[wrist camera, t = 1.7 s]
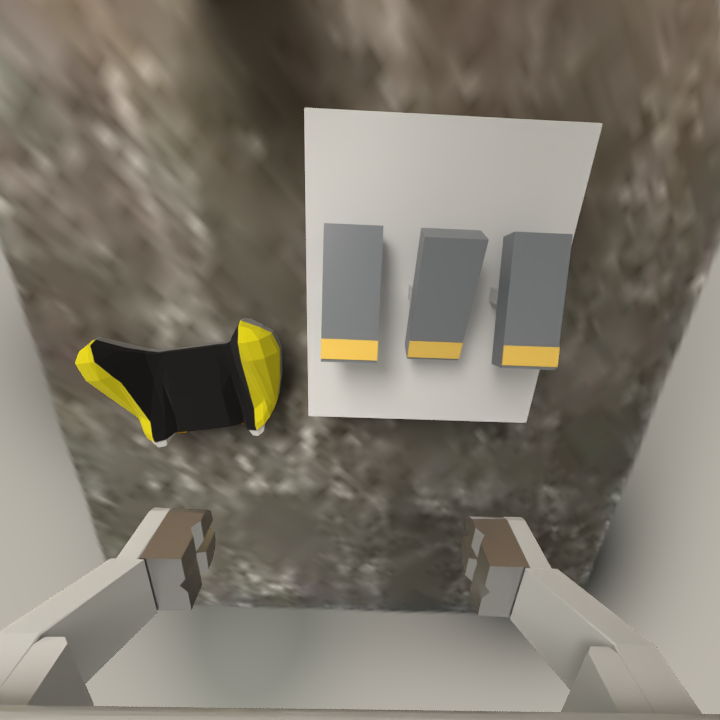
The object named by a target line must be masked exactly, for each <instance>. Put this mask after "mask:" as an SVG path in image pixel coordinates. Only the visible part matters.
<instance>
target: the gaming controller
mask: <svg viewBox="0 0 720 720" xmlns="http://www.w3.org/2000/svg"><path fill="white" fill-rule="evenodd" d="M75 364H76V366H77V368H78V369H79V371H80V372H81V374H82V375H83V377H84V378H85V380H86V381H87V382H88V383H90V384H91V385H93V386H94V387H95V388H97V389H98V390H100V391H101V392H102V393H104V394H105V395H107V396H108V397H110V398H111V399H112V400H114V401H115V402H117V403H118V404H119V405H121V406H122V407H124V408H125V409H127V410H128V411H129V412H131V413H132V414H134V415H135V416H136V417H138V418H139V420H140V422H141V425H142V428H143V431H144V433H145V435H146V437H147V438H148V439H150V440H151V441H152V442H153V443H154V444H155V445H157V446H158V447H163V446H167V444H168V443H169V441H170V440H171V439H172V437H173V436H174V434H175V433H186V432H187V431H194V430H203V429H211V428H219V427H228V426H233V425H237V424H244V425H245V426H246V427H247V430H249V431H250V432H251V433H252V435H255V436H259V435H260V434H261V433H262V432H263V431H264V427H265V423H266V421H267V420H268V418H269V417H270V415H271V414H272V412H273V410H274V408H275V405H276V402H277V399H278V397H279V393H280V386H281V380H282V344H281V342H280V340H279V338H278V336H277V334H276V332H275V330H273V329H271V328H269V327H267V326H265V325H263V324H261V323H259V322H257V321H255V320H252V319H250V318H242V319H241V320H240V322H239V324H238V326H237V328H236V330H235V332H234V334H233V336H232V338H231V339H230V340H229V341H224V342H218V343H210V344H203V345H195V346H187V347H180V348H172V349H151V348H147V347H142V346H138V345H133V344H129V343H125V342H120V341H116V340H112V339H108V338H104V337H98V338H96V339H94V340H93V341H91V342H90V343H89V344H88V345H87V346H86V347H84V348H83V349H82V350H80V351H79V353H78V355H77V359H76V362H75Z"/></svg>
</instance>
